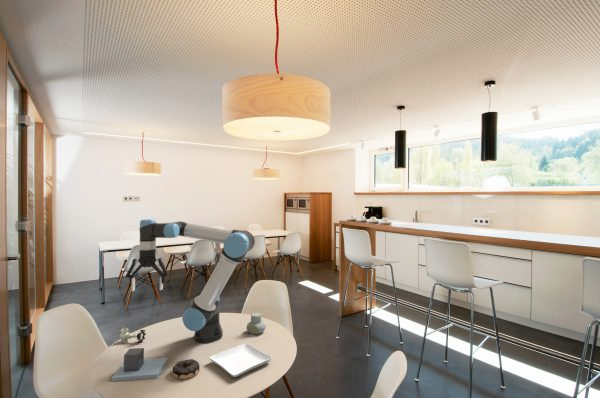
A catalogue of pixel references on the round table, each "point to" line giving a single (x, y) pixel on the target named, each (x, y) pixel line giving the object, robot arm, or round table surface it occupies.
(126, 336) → the valve
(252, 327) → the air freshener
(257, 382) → the round table surface
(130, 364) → the brushed metal cube
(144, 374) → the board
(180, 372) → the donut
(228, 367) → the salad plate
